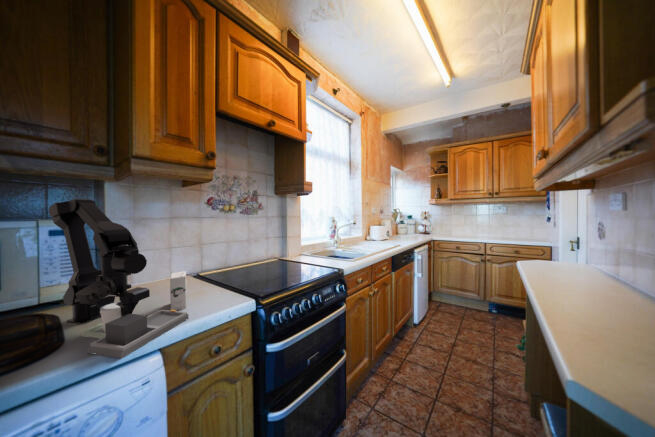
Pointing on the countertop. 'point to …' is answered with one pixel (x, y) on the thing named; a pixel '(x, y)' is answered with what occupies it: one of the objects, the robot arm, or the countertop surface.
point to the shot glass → (110, 313)
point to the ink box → (178, 290)
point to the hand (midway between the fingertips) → (116, 321)
